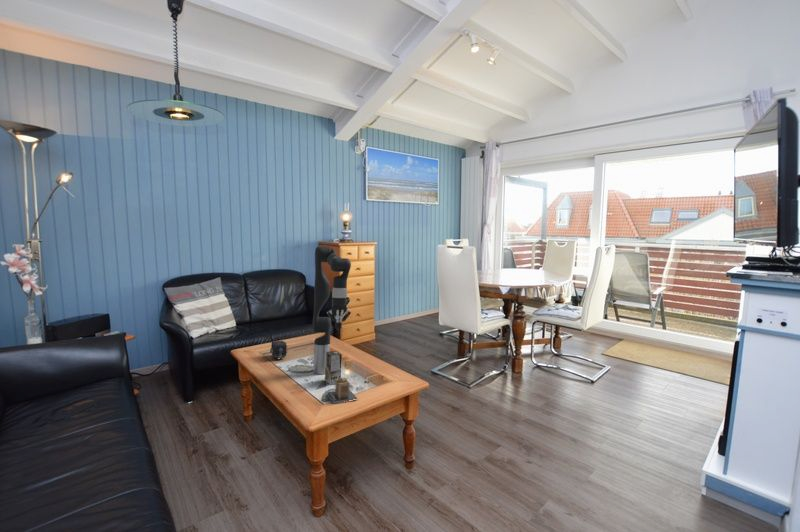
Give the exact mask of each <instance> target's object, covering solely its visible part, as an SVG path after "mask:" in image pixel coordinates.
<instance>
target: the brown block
mask: <svg viewBox="0 0 800 532" xmlns="http://www.w3.org/2000/svg"><path fill="white" fill-rule="evenodd" d="M334 386H335V387H334V388H335V389H334V392H335V394H336V395H337V397H338V398H339V399H340V398H347V397H349V390H350V381H349V380H348V378H347V377H343V376H342V377H341V378H339V379H336V383H335V384H334Z"/></svg>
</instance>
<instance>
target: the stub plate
mask: <svg viewBox="0 0 800 532" xmlns="http://www.w3.org/2000/svg"><path fill="white" fill-rule="evenodd" d="M326 396H327V398H328V400H330V402H331V403H332V404H333V405H336V403H337V404H340V403H339V402H344V401H349V400H353V399H357V400H358V397H357V396H356V395H355V394H354V393H353V392H352V391H351V390H350V389H349V397H347V398H340V399H339V398H338V397H337V395H336V394H335V391H330V392H326ZM344 403H345V402H344Z"/></svg>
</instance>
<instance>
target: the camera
mask: <svg viewBox="0 0 800 532" xmlns="http://www.w3.org/2000/svg"><path fill="white" fill-rule="evenodd" d="M270 344H271V345H270V346H271V348H270V349H269V352H270V354H272V357H273V358H274V359H276V358H281V359H284V358H286V356H287V354H288V351H287V341H284V340H274V341H273V340H272V341H271V343H270Z"/></svg>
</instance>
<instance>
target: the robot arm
mask: <svg viewBox="0 0 800 532" xmlns="http://www.w3.org/2000/svg"><path fill="white" fill-rule="evenodd" d="M322 263H327V264H328V265H329V267H330V270H331V271H333V272H334V273H335V272H337V273H341V272H342V273H341V274H340V275H335V276H333V281H332V291H331V282H330V281H329V279H328V277H327V276H326V274H325V272H324V271H323V268H322V267H323V266H322ZM351 268H352V263H351V261H350V259H349V258H342V257H341V256H340V255H338V254H337V252H336V250H335V249H334V248H333V247H329V246H317V247H315V250H314V289H313V293H314V295H313V297H314V299H313V303H314V304H313V315H312V331H313V333H324V334H323V335H321V336H319V337H316V338H314V349H313V351H314V353H313V373H314V374H316V375H325V363H326V352H330V351H331V332H332V322H334V323H335V325H334V326H335V329H336V330H337V331H339V330H340V331H341V329H342V323H343V322H345V321H346V320H347V319H348V318H349V316H350V315H351V313H352V312H351V311H350V310H348V307H347V303H348V302H347V299H348V291H347V290H348V289H347V287H348V286H347V283H348V276H349V273H350V270H351ZM331 292H332V293H331ZM331 295H332V296H331ZM330 296H331V308H330V310H328V311H326V314H327V316H320V312H321V310H322V309H323V307H324V305H325V304H326V303H327V301H328V299H329V298H330Z"/></svg>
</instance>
